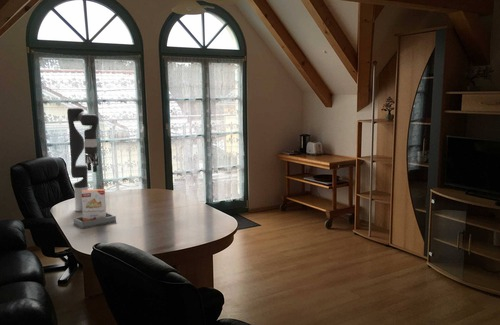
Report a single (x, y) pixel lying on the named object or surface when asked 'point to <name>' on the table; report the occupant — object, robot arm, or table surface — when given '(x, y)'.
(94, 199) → the cracker box
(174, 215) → the table surface
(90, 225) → the bin
